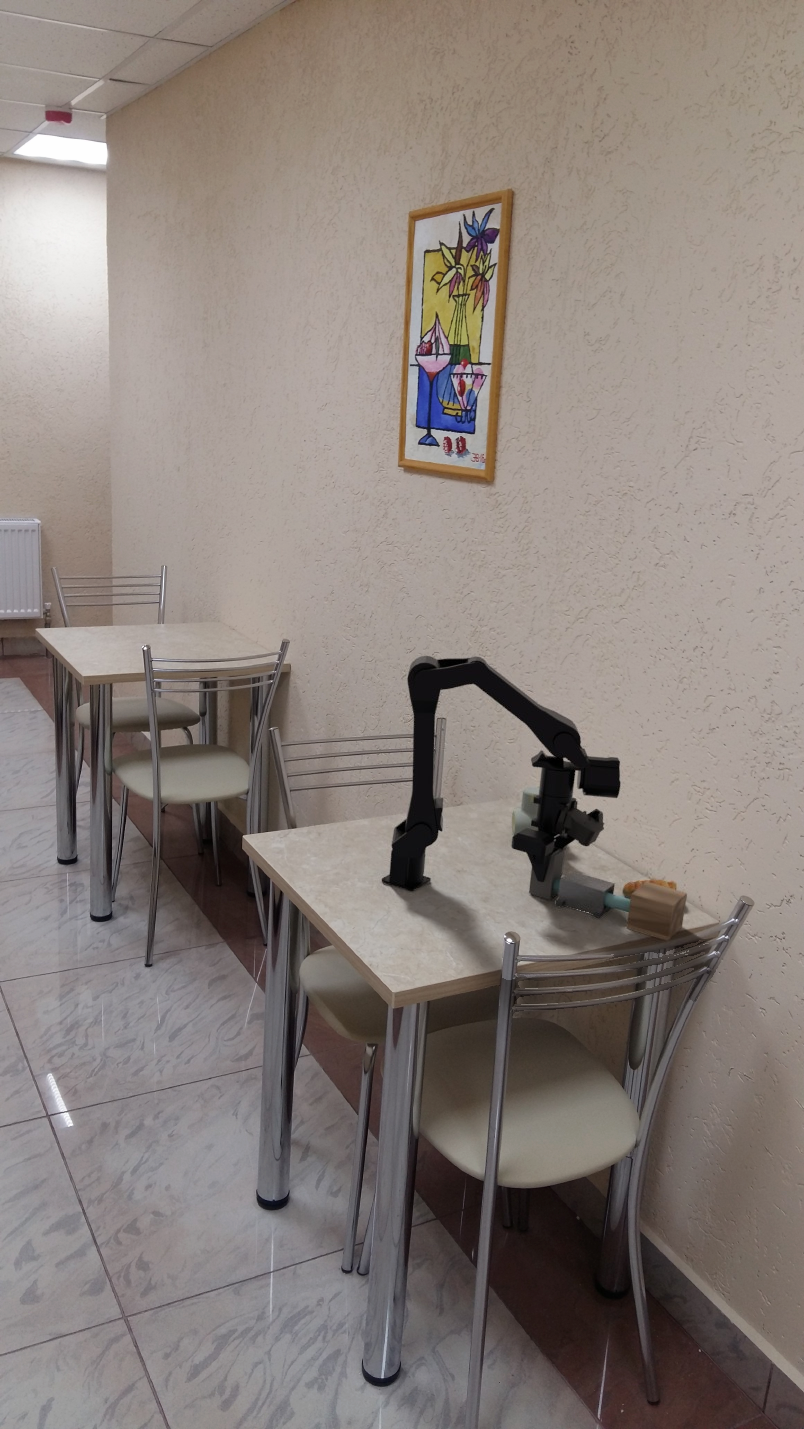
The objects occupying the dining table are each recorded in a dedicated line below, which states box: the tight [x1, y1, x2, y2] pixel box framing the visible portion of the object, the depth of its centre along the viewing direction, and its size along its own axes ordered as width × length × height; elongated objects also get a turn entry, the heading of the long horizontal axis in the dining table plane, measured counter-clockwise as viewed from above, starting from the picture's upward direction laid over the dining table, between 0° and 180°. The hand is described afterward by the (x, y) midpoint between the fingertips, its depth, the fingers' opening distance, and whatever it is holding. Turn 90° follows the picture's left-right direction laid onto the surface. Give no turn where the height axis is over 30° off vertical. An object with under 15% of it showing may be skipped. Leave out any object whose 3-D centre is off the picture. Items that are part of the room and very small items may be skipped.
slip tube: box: [528, 847, 630, 914], centre depth 186 cm, size 4×24×8 cm, turn 57°
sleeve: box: [554, 870, 616, 920], centre depth 188 cm, size 6×8×5 cm
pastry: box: [621, 878, 677, 899], centre depth 194 cm, size 9×7×4 cm
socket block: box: [626, 882, 688, 941], centre depth 181 cm, size 7×7×6 cm
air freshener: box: [511, 785, 540, 836], centre depth 218 cm, size 11×8×10 cm
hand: (546, 877), depth 192 cm, fingers closed on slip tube, 4 cm apart
